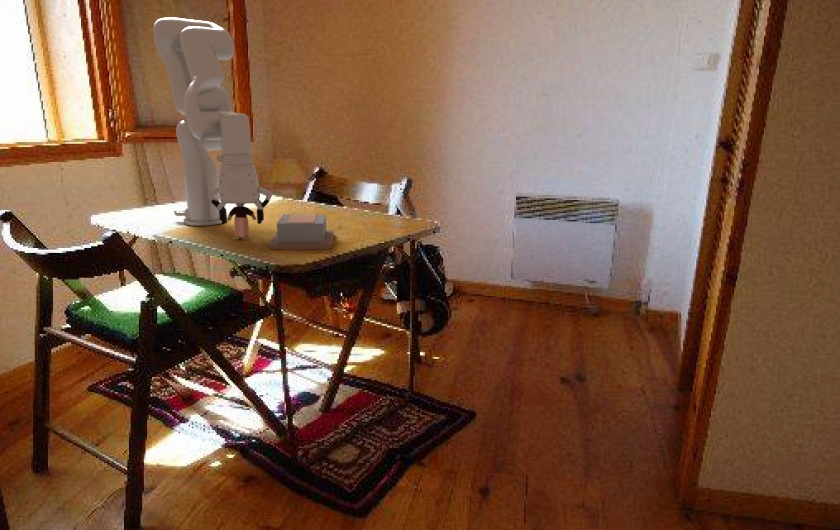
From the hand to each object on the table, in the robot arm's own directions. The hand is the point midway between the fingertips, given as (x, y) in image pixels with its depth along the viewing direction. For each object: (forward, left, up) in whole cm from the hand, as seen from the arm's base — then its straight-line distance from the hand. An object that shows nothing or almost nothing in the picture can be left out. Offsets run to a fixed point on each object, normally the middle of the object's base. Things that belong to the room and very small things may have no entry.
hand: (242, 223), depth 150 cm
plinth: (+17, -4, -4) cm, 18 cm away
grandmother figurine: (0, 0, -5) cm, 5 cm away
